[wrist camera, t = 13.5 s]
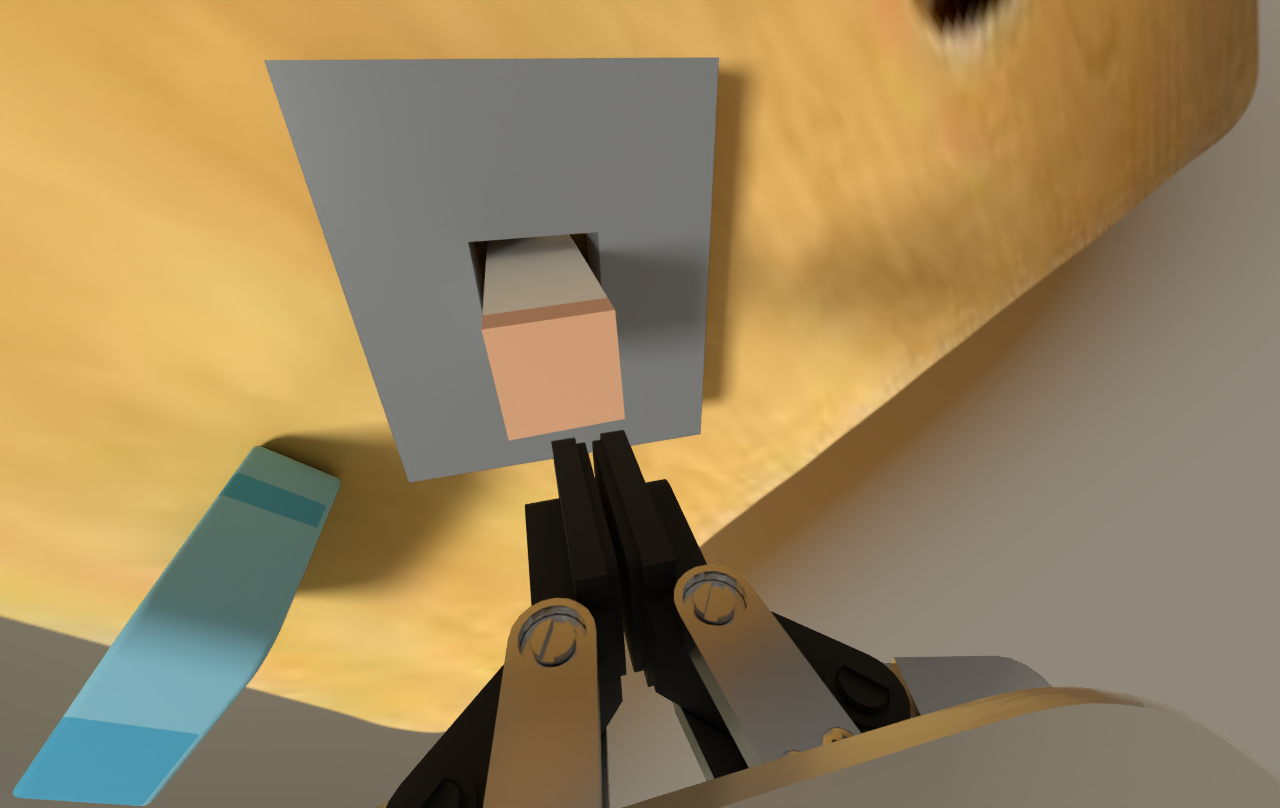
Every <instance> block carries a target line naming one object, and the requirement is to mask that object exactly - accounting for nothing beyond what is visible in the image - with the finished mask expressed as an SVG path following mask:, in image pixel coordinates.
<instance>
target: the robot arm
mask: <svg viewBox="0 0 1280 808" xmlns="http://www.w3.org/2000/svg"><path fill="white" fill-rule="evenodd" d="M551 444H552V451H553V458H554V465H555V472H556V479H557V487H558V494H559V498H558V499H552V500H547V501H541V502H536V503H530V504H525V516H526V531H527V546H528V560H529V575H530V590H531V604H532V606H531V607H529V608H528V609H527V610H526V611H525V612H523V613H522V614H521V615H520V616H519V617H518V619H517V620H516V622H515V623H514V625H513V626H512V628H511V631H510V635H509V638H508V642H507V649H506V656H505V663H504V665H503V666H502V667H501V668H500V669H499V671H498V672H497V673H496V674H495V675H494V676H493V678H492V679H491V680H490V681H489V682H488V683H487V685H486V686H485V687H484V688H483V689H482V690H481V691H480V693H479V694H478V695H477V696H476V697H475V698H474V700H473V701H472V702H471V703H470V704H469V705H468V707H467V708H466V709H465V710H464V711H463V712H462V714H461V715H460V716H459V717H458V718H457V719H456V721H455V722H454V723H453V724H452V725H451V726H450V728H449V729H448V730H447V731H446V732H445V733H444V735H443V736H442V737H441V738H440V739H439V741H438V742H437V743H436V744H435V745H434V746H433V748H432V749H431V750H430V751H429V752H428V753H427V754H426V755H425V757H424V758H423V759H422V760H421V761H420V763H419V764H418V765H417V766H416V767H415V768H414V769H413V771H412V772H411V773H410V774H409V775H408V776H407V778H406V779H405V780H404V781H403V782H402V783H401V785H400V786H399V787H398V789H397V790H396V792H395V793H394V795H393V796H392V798H391V799H390V800H389V801H387V802H385V803H383V804H382V805H380V806H378V807H376V808H610V784H609V758H608V757H609V756H608V731H607V725H608V723H609V722H610V720H611V719H612V717H613V716H614V714H615V712H616V711H617V709H618V707H619V706H620V704H621V702H622V688H621V676H623V675H626V659H625V644H624V634H625V637H626V642H627V646H628V650H629V654H630V658H631V662H632V666H633V670H634V672H639V671H643V670H644V673H645V677H646V681H647V684H648V687H650V686H654V687H655V691H656V692H657V693H659V694H660V695H662V696H664V697H665V698H667V699H669V700H671V701H672V703H673V706H674V709H675V713H676V715H677V717H678V720H679V722H680V724H681V726H682V729H683V731H684V733H685V735H686V737H687V739H688V742H689V744H690V746H691V748H692V750H693V753H694V755H695V757H696V759H697V761H698V764H699V766H700V768H701V770H702V772H703V775H704V777H705V779H706V782H703V783H700V784H696V785H693V786H690V787H687V788H684V789H680V790H677V791H674V792H671V793H668V794H664V795H661V796H658V797H655V798H652V799H648V800H645V801H642V802H639V803H636V804H632V805H629V806H626V807H623V808H1280V774H1279V773H1278V772H1277V771H1275V770H1274V769H1273V768H1271V767H1270V766H1269V765H1268V764H1266V763H1265V762H1264V761H1263V760H1261V759H1260V758H1258V757H1257V756H1256V755H1254V754H1253V753H1252V752H1250V751H1249V750H1247V749H1246V748H1245V747H1243V746H1242V745H1240V744H1239V743H1237V742H1236V741H1234V740H1233V739H1231V738H1230V737H1228V736H1227V735H1225V734H1224V733H1222V732H1221V731H1219V730H1218V729H1216V728H1214V727H1213V726H1211V725H1209V724H1207V723H1206V722H1204V721H1202V720H1201V719H1199V718H1197V717H1195V716H1193V715H1191V714H1189V713H1187V712H1184V711H1182V710H1179V709H1177V708H1175V707H1172V706H1170V705H1168V704H1164V703H1161V702H1157V701H1154V700H1151V699H1148V698H1144V697H1139V696H1135V695H1131V694H1127V693H1121V692H1114V691H1109V690H1103V689H1094V688H1082V687H1052V686H1051V685H1050V684H1049V683H1048V682H1047V681H1046V680H1045V679H1044V678H1043V677H1042V676H1041V675H1040V674H1038V673H1037V672H1035V671H1034V670H1032V669H1031V668H1030V667H1028V666H1027V665H1025V664H1023V663H1020V662H1018V661H1015V660H1013V659H1011V658H1006V657H999V656H954V657H953V656H952V657H894V658H893V661H892V663H882V662H880V661H879V660H877V659H875V658H873V657H871V656H870V655H868V654H866V653H864V652H861V651H859V650H857V649H855V648H852V647H850V646H848V645H846V644H843V643H841V642H839V641H837V640H834V639H832V638H830V637H828V636H825V635H823V634H821V633H819V632H816V631H814V630H812V629H810V628H808V627H805V626H803V625H801V624H798V623H796V622H794V621H792V620H790V619H787V618H785V617H783V616H780V615H778V614H776V613H774V612H772V611H770V610H769V609H768V607H767V606H766V605H765V603H764V602H763V601H762V600H761V598H760V597H759V595H758V594H757V593H756V591H755V590H754V588H753V587H752V586H751V584H750V583H749V582H748V581H747V580H746V579H745V578H744V577H743V576H742V575H741V574H739V573H737V572H736V571H734V570H732V569H730V568H727V567H723V566H720V565H707V563H706V561H705V559H704V557H703V555H702V553H701V550H700V548H699V546H698V544H697V542H696V540H695V538H694V535H693V533H692V531H691V529H690V527H689V525H688V523H687V520H686V518H685V516H684V514H683V512H682V510H681V508H680V505H679V503H678V501H677V499H676V497H675V495H674V493H673V490H672V488H671V486H670V484H669V483H668V481H667V480H666V479H663V480H657V481H652V482H646V483H645V480H644V478H643V476H642V473H641V471H640V468H639V466H638V463H637V461H636V458H635V456H634V453H633V451H632V448H631V446H630V443H629V441H628V438H627V436H626V433H625V431H624V430H618V431H612V432H605V433H600V440H595V441H592V449H593V460H594V471H595V477H594V473H593V470H592V466H591V462H590V458H589V455H588V451H587V447H586V444H585V442H582V443H576V440H575V437H574V438H567V439H561V440H555V441H551ZM362 808H365V807H362Z"/></svg>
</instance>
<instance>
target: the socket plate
mask: <svg viewBox="0 0 1280 808" xmlns="http://www.w3.org/2000/svg"><path fill="white" fill-rule="evenodd" d="M264 61H265V64H266V67H267V70H268V73H269V75H270V78H271V81H272V84H273V87H274V90H275V93H276V96H277V99H278V102H279V105H280V108H281V111H282V113H283V116H284V119H285V122H286V125H287V128H288V131H289V134H290V137H291V140H292V143H293V146H294V148H295V151H296V154H297V157H298V160H299V163H300V166H301V169H302V172H303V175H304V178H305V181H306V184H307V186H308V189H309V192H310V195H311V198H312V201H313V204H314V207H315V210H316V213H317V216H318V219H319V221H320V224H321V227H322V230H323V233H324V236H325V239H326V242H327V245H328V248H329V251H330V254H331V257H332V259H333V262H334V265H335V268H336V271H337V274H338V277H339V280H340V283H341V286H342V289H343V292H344V294H345V297H346V300H347V303H348V306H349V309H350V312H351V315H352V318H353V321H354V324H355V327H356V330H357V332H358V335H359V338H360V341H361V344H362V347H363V350H364V353H365V356H366V359H367V362H368V365H369V367H370V370H371V373H372V376H373V379H374V382H375V385H376V388H377V391H378V394H379V397H380V400H381V402H382V405H383V408H384V411H385V414H386V417H387V420H388V423H389V426H390V429H391V432H392V435H393V438H394V440H395V443H396V446H397V449H398V452H399V455H400V458H401V461H402V464H403V467H404V470H405V473H406V475H407V478H408V481H409V483H410V482H416V481H422V480H428V479H434V478H440V477H446V476H452V475H458V474H464V473H470V472H476V471H482V470H488V469H494V468H500V467H506V466H512V465H518V464H524V463H530V462H536V461H542V460H548V459H554V458H553V451H552V444H551V441H555V440H561V439H567V438H574V437H575V440H576V443H582V442H585V444H586V447H587V451H588V453H590V452H593V449H592V441H595V440H600V433H605V432H612V431H618V430H624V431H625V433H626V436H627V438H628V441H629V443H630V446H632V445H638V444H644V443H650V442H656V441H662V440H668V439H674V438H680V437H686V436H692V435H698V434H701V413H702V393H703V372H704V352H705V331H706V311H707V290H708V270H709V249H710V229H711V208H712V188H713V167H714V147H715V126H716V106H717V85H718V65H719V58H579V59H417V60H264ZM579 233H586V242H587V255H588V266H589V267H590V269H591V271H592V272H593V274H594V276H595V277H596V279H597V281H598V282H599V284H600V286H601V287H602V289H603V291H604V292H605V294H606V296H607V297H608V299H609V301H610V302H611V304H612V306H613V307H614V309H615V314H616V325H617V336H618V347H619V358H620V369H621V380H622V391H623V402H624V413H625V419H621V420H616V421H611V422H605V423H600V424H595V425H589V426H584V427H579V428H573V429H568V430H563V431H557V432H552V433H547V434H542V435H536V436H531V437H526V438H520V439H515V440H510V441H509V439H508V435H507V431H506V427H505V423H504V419H503V415H502V411H501V407H500V403H499V399H498V395H497V391H496V386H495V382H494V378H493V374H492V370H491V366H490V362H489V358H488V354H487V350H486V346H485V342H484V338H483V334H482V315H483V300H484V285H483V279H482V274H481V269H480V264H479V258H478V253H477V248H476V243H475V241H488V240H501V239H514V238H527V237H540V236H553V235H566V234H579Z"/></svg>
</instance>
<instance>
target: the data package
mask: <svg viewBox="0 0 1280 808" xmlns="http://www.w3.org/2000/svg"><path fill="white" fill-rule="evenodd" d="M340 483H341V482H340V479H339V478H337V477H335V476H332V475H330V474H327V473H325V472H322V471H320V470H318V469H315V468H313V467H310V466H308V465H305V464H303V463H300V462H298V461H296V460H293V459H291V458H288V457H286V456H283V455H281V454H278V453H276V452H273V451H271V450H269V449H266V448H264V447H261V446H256V447H254V448H253V449H252V450H251V451H250V453H249V454H248V455H247V457H246V458H245V460H244V461H243V462H242V464H241V465H240V467H239V468H238V469H237V471H236V472H235V473H234V475H233V476H232V478H231V479H230V480H229V482H228V483H227V485H226V486H225V487H224V489H223V490H222V492H221V493H220V494H219V496H218V497H217V498H216V500H215V501H214V503H213V504H212V505H211V507H210V508H209V510H208V511H207V512H206V514H205V515H204V517H203V518H202V519H201V521H200V522H199V523H198V525H197V526H196V528H195V529H194V530H193V532H192V533H191V535H190V536H189V537H188V539H187V540H186V542H185V543H184V544H183V546H182V547H181V548H180V550H179V551H178V553H177V554H176V555H175V557H174V558H173V560H172V561H171V562H170V564H169V565H168V566H167V568H166V569H165V571H164V572H163V573H162V575H161V576H160V578H159V579H158V580H157V582H156V583H155V585H154V586H153V587H152V589H151V590H150V591H149V593H148V594H147V596H146V597H145V598H144V600H143V601H142V603H141V604H140V605H139V607H138V608H137V610H136V611H135V613H134V614H133V615H132V617H131V618H130V620H129V621H128V622H127V624H126V625H125V627H124V628H123V630H122V631H121V632H120V634H119V635H118V637H117V638H116V640H115V641H114V643H113V644H112V645H111V647H110V648H109V650H108V651H107V653H106V654H105V656H104V657H103V659H102V661H101V662H100V663H99V665H98V666H97V668H96V669H95V670H94V672H93V673H92V675H91V676H90V678H89V679H88V681H87V682H86V684H85V685H84V687H83V688H82V690H81V691H80V693H79V694H78V696H77V697H76V699H75V700H74V701H73V703H72V704H71V706H70V707H69V709H68V710H67V712H66V713H65V715H64V716H63V718H62V719H61V721H60V722H59V724H58V725H57V726H56V728H55V730H54V731H53V732H52V734H51V735H50V737H49V738H48V740H47V741H46V743H45V744H44V746H43V747H42V749H41V750H40V752H39V753H38V754H37V756H36V758H35V759H34V760H33V762H32V763H31V765H30V766H29V768H28V769H27V771H26V772H25V774H24V775H23V777H22V778H21V780H20V781H19V783H18V784H17V785H16V787H15V789H14V791H13V795H14V796H15V797H17V798H30V799H31V798H32V799H45V800H60V801H75V802H90V803H106V804H121V805H136V806H144V805H147V804H149V803H150V802H151V801H153V800H154V799H155V797H156V796H157V795H158V794H159V793H160V791H161V790H162V789H163V788H164V787H165V785H166V784H167V783H168V782H169V780H170V779H171V778H172V776H173V775H174V774H175V773H176V772H177V770H178V769H179V768H180V767H181V766H182V764H183V763H184V762H185V761H186V759H187V758H188V757H189V756H190V754H191V753H192V752H193V751H194V749H195V748H196V747H197V746H198V744H199V743H200V742H201V741H202V740H203V738H204V737H205V736H206V735H207V733H208V732H209V731H210V730H211V728H212V727H213V726H214V725H215V724H216V722H217V721H218V720H219V719H220V717H221V716H222V715H223V714H224V712H225V711H226V710H227V709H228V707H229V706H230V705H231V704H232V703H233V701H234V700H235V699H236V698H237V696H238V695H239V694H240V693H241V691H242V690H243V689H244V688H245V686H246V685H247V684H248V683H249V682H250V680H251V679H252V678H253V676H254V675H255V674H256V672H257V671H258V669H259V668H260V666H261V665H262V663H263V661H264V660H265V658H266V656H267V655H268V653H269V651H270V649H271V648H272V646H273V644H274V642H275V640H276V638H277V636H278V634H279V632H280V630H281V627H282V625H283V623H284V620H285V618H286V615H287V613H288V611H289V608H290V606H291V603H292V601H293V599H294V596H295V594H296V591H297V589H298V587H299V584H300V582H301V579H302V577H303V574H304V572H305V570H306V567H307V565H308V562H309V560H310V558H311V555H312V553H313V550H314V548H315V545H316V543H317V541H318V538H319V536H320V533H321V531H322V529H323V526H324V524H325V521H326V519H327V516H328V514H329V512H330V509H331V507H332V504H333V502H334V500H335V497H336V495H337V492H338V490H339V487H340Z"/></svg>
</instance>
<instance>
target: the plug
mask: <svg viewBox="0 0 1280 808" xmlns="http://www.w3.org/2000/svg"><path fill="white" fill-rule="evenodd" d="M482 334H483V338H484V342H485V346H486V350H487V354H488V358H489V362H490V366H491V370H492V374H493V378H494V382H495V386H496V391H497V395H498V399H499V403H500V407H501V411H502V415H503V419H504V423H505V427H506V431H507V435H508V439H509V441H510V440H515V439H520V438H526V437H531V436H536V435H542V434H547V433H552V432H557V431H563V430H568V429H573V428H579V427H584V426H589V425H595V424H600V423H605V422H611V421H616V420H621V419H625V413H624V402H623V391H622V380H621V369H620V358H619V347H618V336H617V325H616V314H615V309H614V307H613V306H612V304H611V302H610V301H609V299H608V297H607V296H606V294H605V292H604V291H603V289H602V287H601V286H600V284H599V282H598V281H597V279H596V277H595V276H594V274H593V272H592V271H591V269H590V267H589V266H588V264H587V262H586V261H585V259H584V257H583V256H582V254H581V252H580V251H579V249H578V248H577V246H576V244H575V243H574V241H573V239H572V238H571V236H570V234H566V235H553V236H540V237H527V238H514V239H501V240H488V241H487V255H486V270H485V285H484V300H483V315H482Z"/></svg>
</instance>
